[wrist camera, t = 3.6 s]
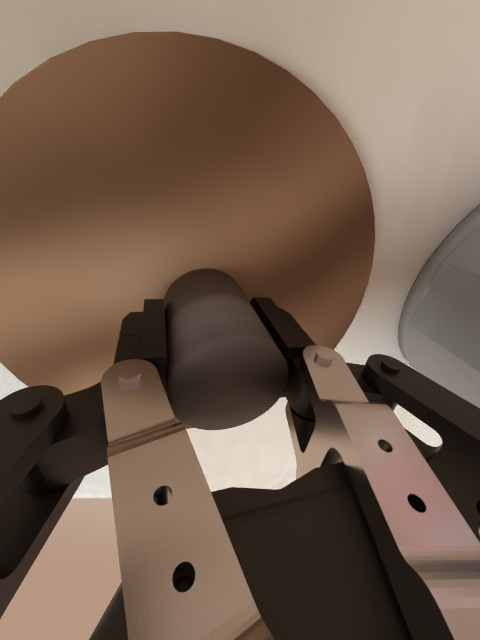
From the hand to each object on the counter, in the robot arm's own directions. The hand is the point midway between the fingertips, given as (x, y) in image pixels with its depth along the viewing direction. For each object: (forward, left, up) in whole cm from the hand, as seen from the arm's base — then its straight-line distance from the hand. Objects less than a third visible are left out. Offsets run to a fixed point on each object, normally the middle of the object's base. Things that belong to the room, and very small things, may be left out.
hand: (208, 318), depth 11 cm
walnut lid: (0, 0, -2) cm, 2 cm away
